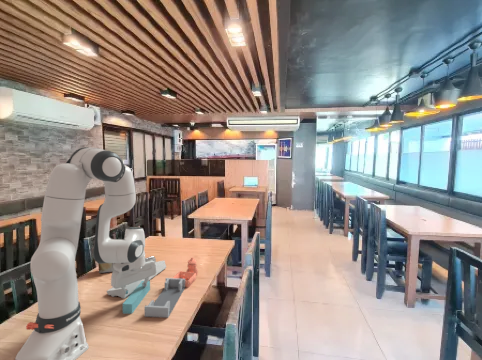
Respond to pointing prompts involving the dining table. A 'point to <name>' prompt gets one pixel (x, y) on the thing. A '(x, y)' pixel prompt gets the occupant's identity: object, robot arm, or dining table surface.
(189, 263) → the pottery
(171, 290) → the end cap cradle
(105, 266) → the coffee box
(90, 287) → the dining table surface
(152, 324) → the dining table surface
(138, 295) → the slat
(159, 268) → the decorative molding
